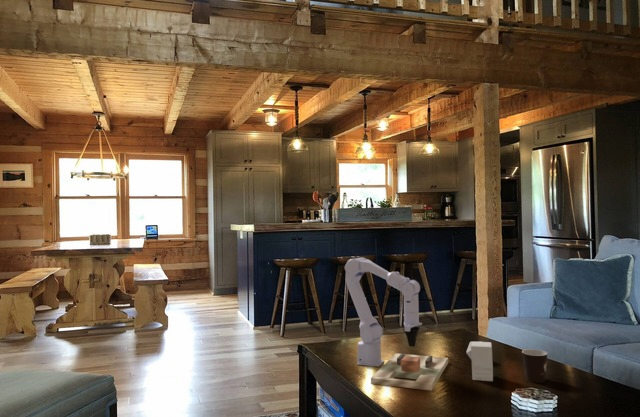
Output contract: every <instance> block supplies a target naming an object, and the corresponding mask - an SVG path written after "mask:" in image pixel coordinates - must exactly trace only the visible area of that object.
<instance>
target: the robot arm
mask: <svg viewBox="0 0 640 417" xmlns="http://www.w3.org/2000/svg"><path fill="white" fill-rule="evenodd" d="M343 267H344V270H345V279H344V280H345V284H346V286H347V290H348V292H349V295H350V296H351V300H352V302H353V305H354V307H355V310H356V312H357V315H358V318H359V321H360V322H359V326H358V327H359V328H358V329H359V331H360V333H359V335H360V339H361V340H360V341H358V342H357V352H356V354H357V355H356V356H357V363H356V365H359V366H370V367H380V366H381V365H382V364H383V363H384V362H385V360H383V359H382V349H381V348H382V342H381V341H382V339H381V338H382V337H383V335H384V329H383V327H382V326H381V325H380V324H379V322H378V320H377V318H375V317H374V316H373V315H372V311H371V309H370V306H369V303H368V301H367V299H366V296H365V293H364V291H363V288H362V285H361V282H360V281H361V278H362V277H363V275H364V274H365V273H371V274H374V275H375V276H377V277H380V278H381V279H383V280H386V284H387V285H388V286H390V287H393V289H397V291H399V292H401V294H402V295H403V317H404V318H403V320H404V321H403V326H404V328H403V331H404V335H406V339H407V343H408V346H409V347H415V346H416V345H417V344H416V343H417V338H418V334H419V331H420V329H421V328H420V326H422V325H423V323H422V322H420V316H419V314H420V313H419V311H420V310H419V308H420V306H419V293H420V291H421V285H420V283H419V282H418V281H417V280H416V279H410V278H409V277H406V276H404V275H402V274H400V272H399V271H391V272H389V271H388V270H386V269H385V268H383V267H381V266H379V265H378V264H377V263H374V262H373V261H372V260H371V259H367V258H366V257H363V256H362V257H358V258H350V259H348V260H347V261H346V264H345V265H344V266H343Z"/></svg>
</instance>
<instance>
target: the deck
mask: <svg viewBox="0 0 640 417" xmlns="http://www.w3.org/2000/svg"><path fill="white" fill-rule="evenodd" d="M404 356H410V357H420V369H419V370H418V372H409V371H401V360H402V359H403V357H404ZM448 364H449V358H448V357H440V356H433V355H417V354H407V353H394V355H392V356H391V357H390V358H389V359H388V360H387V361H386V362H385V363H384V365H383V366H381V367H380V368H379V369H378V370H377V371H375V373H374V374H373V375H372V376H371V377H370V384H373V385H374V384H375V385H380V386H388V387H389V386H391V387H396V388H397V387H399V388H405V389H406V388H409V389H416V390H424V391H433V389H434V388H435V386H436V384H437V382H438V381H439V379H440V377H441V376H442V374H443V372H444V371H445V369H446V368H447V366H448ZM399 378H401V379H399Z"/></svg>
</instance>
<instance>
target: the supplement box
mask: <svg viewBox="0 0 640 417" xmlns="http://www.w3.org/2000/svg"><path fill="white" fill-rule="evenodd" d="M471 342H472V344H471V355H472V360H471V374H472V375H471V376H472V377H471V378H472V381H482V382H485V381H486V382H494V366H493V345H492V342H491V341H490V342H489V341H482V342H478V341H471Z"/></svg>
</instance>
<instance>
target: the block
mask: <svg viewBox="0 0 640 417" xmlns="http://www.w3.org/2000/svg"><path fill="white" fill-rule="evenodd" d="M419 369H420V357H410V356H404V357H403V359H402V360H401V371H409V372H418V370H419Z"/></svg>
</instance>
